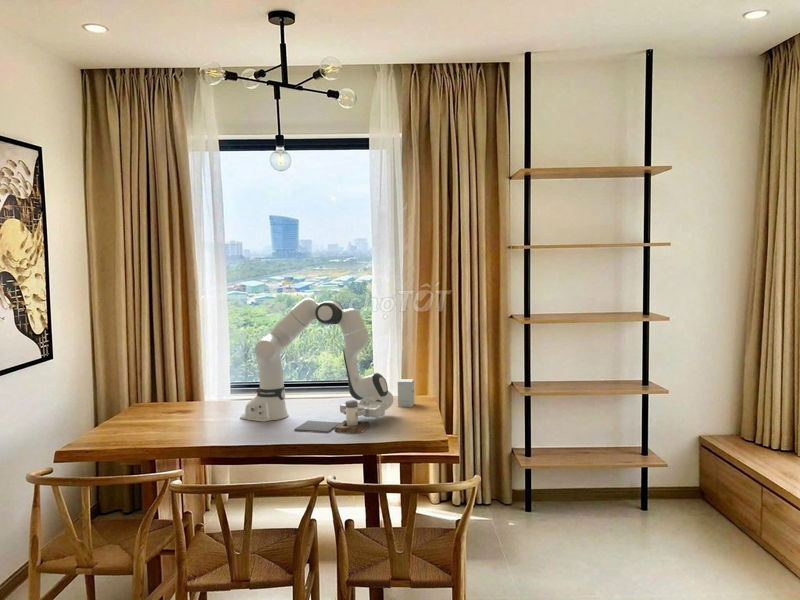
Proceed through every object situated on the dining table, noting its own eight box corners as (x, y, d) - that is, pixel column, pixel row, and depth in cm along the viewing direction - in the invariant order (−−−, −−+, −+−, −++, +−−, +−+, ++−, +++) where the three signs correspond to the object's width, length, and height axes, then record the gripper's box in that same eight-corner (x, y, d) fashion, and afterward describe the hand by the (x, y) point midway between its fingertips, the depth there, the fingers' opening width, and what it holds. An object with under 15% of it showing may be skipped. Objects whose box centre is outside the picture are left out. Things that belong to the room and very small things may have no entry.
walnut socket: (334, 431, 272) (334, 427, 272) (345, 424, 283) (344, 420, 283) (360, 433, 268) (360, 428, 268) (369, 426, 279) (369, 421, 279)
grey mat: (294, 430, 275) (294, 428, 275) (308, 422, 288) (308, 420, 288) (328, 432, 270) (328, 431, 270) (340, 424, 284) (340, 422, 284)
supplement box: (412, 407, 312) (411, 381, 311) (397, 406, 313) (397, 381, 312) (415, 403, 319) (414, 378, 318) (400, 403, 321) (400, 378, 320)
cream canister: (344, 430, 274) (343, 402, 273) (349, 426, 279) (348, 400, 278) (355, 430, 272) (354, 403, 271) (360, 427, 277) (359, 400, 276)
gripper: (350, 397, 291) (331, 403, 280) (387, 401, 280) (369, 408, 269) (350, 410, 292) (331, 417, 280) (387, 415, 281) (369, 423, 269)
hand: (350, 413), depth 274 cm, fingers closed on cream canister, 5 cm apart
